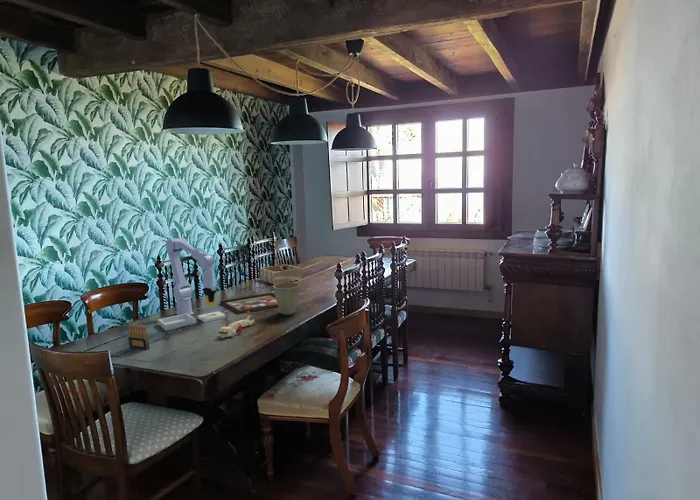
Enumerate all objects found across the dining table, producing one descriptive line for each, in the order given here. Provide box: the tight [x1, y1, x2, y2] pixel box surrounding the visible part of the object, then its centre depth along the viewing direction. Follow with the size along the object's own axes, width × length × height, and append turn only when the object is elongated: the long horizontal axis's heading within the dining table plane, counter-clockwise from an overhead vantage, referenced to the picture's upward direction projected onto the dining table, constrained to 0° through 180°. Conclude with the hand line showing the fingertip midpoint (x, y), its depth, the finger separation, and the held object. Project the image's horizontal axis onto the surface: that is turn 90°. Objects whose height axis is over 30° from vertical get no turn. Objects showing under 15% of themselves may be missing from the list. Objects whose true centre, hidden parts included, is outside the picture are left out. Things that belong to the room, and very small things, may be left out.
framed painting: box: [219, 292, 279, 315], centre depth 292 cm, size 38×35×3 cm
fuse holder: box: [197, 310, 226, 323], centre depth 265 cm, size 10×12×2 cm
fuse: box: [204, 295, 217, 308], centre depth 263 cm, size 3×4×6 cm, turn 127°
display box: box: [259, 263, 302, 286], centre depth 359 cm, size 23×22×9 cm
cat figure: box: [218, 311, 256, 339], centre depth 241 cm, size 10×9×25 cm
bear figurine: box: [279, 263, 287, 271], centre depth 356 cm, size 14×15×12 cm
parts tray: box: [157, 313, 197, 332], centre depth 257 cm, size 14×16×3 cm
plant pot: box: [272, 282, 301, 315], centre depth 270 cm, size 15×15×16 cm
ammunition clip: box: [128, 321, 150, 351], centre depth 221 cm, size 11×2×12 cm, turn 67°
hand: (210, 301), depth 264 cm, fingers closed on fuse, 3 cm apart
